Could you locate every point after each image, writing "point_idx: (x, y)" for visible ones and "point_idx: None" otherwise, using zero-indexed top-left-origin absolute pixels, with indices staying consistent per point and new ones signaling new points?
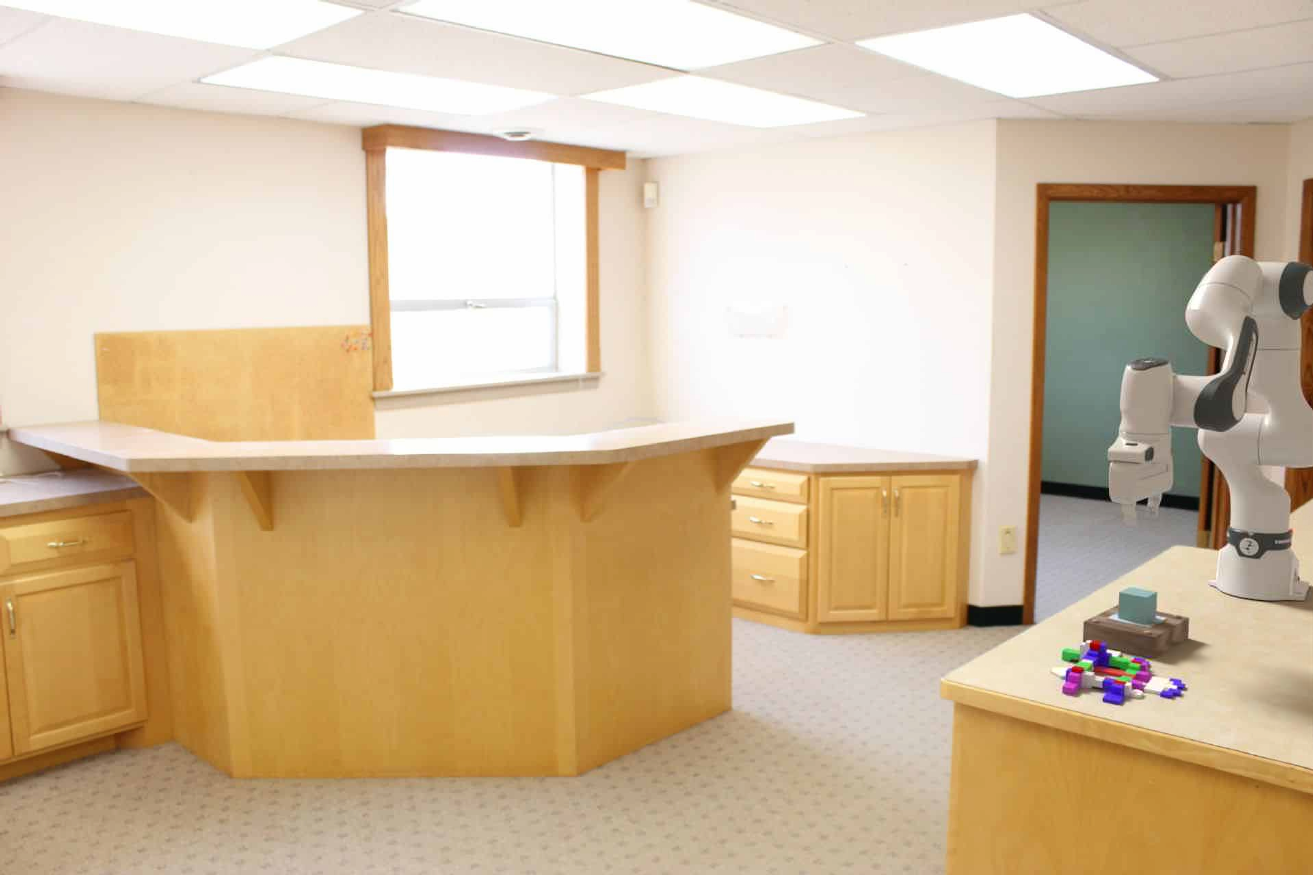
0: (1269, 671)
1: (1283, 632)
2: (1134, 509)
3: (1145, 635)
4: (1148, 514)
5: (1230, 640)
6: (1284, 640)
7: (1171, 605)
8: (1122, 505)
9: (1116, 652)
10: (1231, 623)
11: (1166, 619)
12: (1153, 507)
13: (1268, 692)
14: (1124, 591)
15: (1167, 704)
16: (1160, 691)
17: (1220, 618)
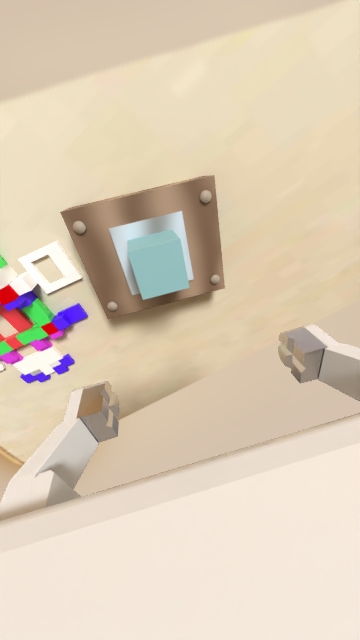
0: (179, 370)
1: (306, 313)
2: (70, 486)
3: (103, 307)
4: (284, 344)
5: (242, 304)
6: (279, 328)
7: (352, 163)
8: (9, 493)
9: (73, 276)
10: (308, 268)
11: (190, 279)
12: (318, 369)
13: (129, 396)
14: (141, 254)
15: (13, 387)
16: (24, 374)
17: (322, 248)
